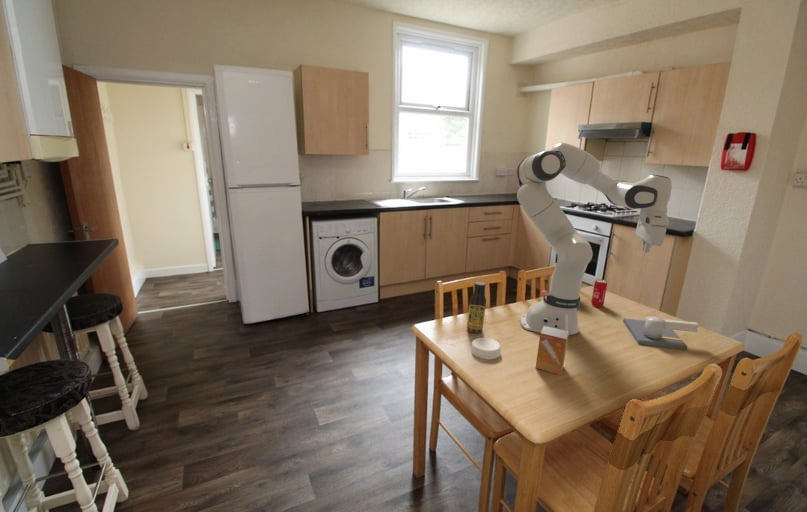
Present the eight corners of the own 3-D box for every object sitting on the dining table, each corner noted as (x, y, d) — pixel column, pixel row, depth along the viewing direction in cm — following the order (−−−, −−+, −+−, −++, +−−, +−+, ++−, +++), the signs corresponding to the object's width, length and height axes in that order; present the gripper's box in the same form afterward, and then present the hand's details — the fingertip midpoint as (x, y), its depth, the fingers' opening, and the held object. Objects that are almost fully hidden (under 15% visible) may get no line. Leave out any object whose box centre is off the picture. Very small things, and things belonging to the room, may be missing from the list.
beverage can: (604, 308, 176) (608, 283, 173) (592, 306, 177) (596, 282, 174) (601, 303, 181) (605, 279, 178) (589, 302, 182) (593, 278, 179)
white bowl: (504, 351, 137) (505, 342, 136) (494, 363, 129) (495, 354, 128) (477, 343, 143) (478, 334, 142) (466, 354, 135) (467, 345, 134)
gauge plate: (637, 343, 144) (638, 339, 144) (623, 321, 163) (623, 317, 162) (686, 350, 140) (687, 345, 140) (665, 326, 159) (666, 322, 159)
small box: (535, 368, 126) (539, 332, 123) (538, 359, 132) (543, 325, 128) (561, 375, 123) (567, 339, 119) (563, 366, 128) (569, 330, 124)
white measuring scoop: (646, 337, 145) (650, 322, 143) (640, 330, 150) (643, 315, 148) (697, 343, 141) (701, 327, 140) (689, 335, 147) (693, 320, 145)
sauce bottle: (466, 332, 150) (469, 284, 144) (467, 325, 156) (470, 279, 150) (483, 335, 148) (487, 286, 143) (483, 327, 154) (487, 281, 149)
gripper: (634, 212, 160) (628, 244, 164) (652, 221, 141) (644, 257, 145) (651, 213, 159) (645, 246, 163) (671, 222, 140) (663, 258, 143)
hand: (645, 251), depth 154 cm, fingers closed
